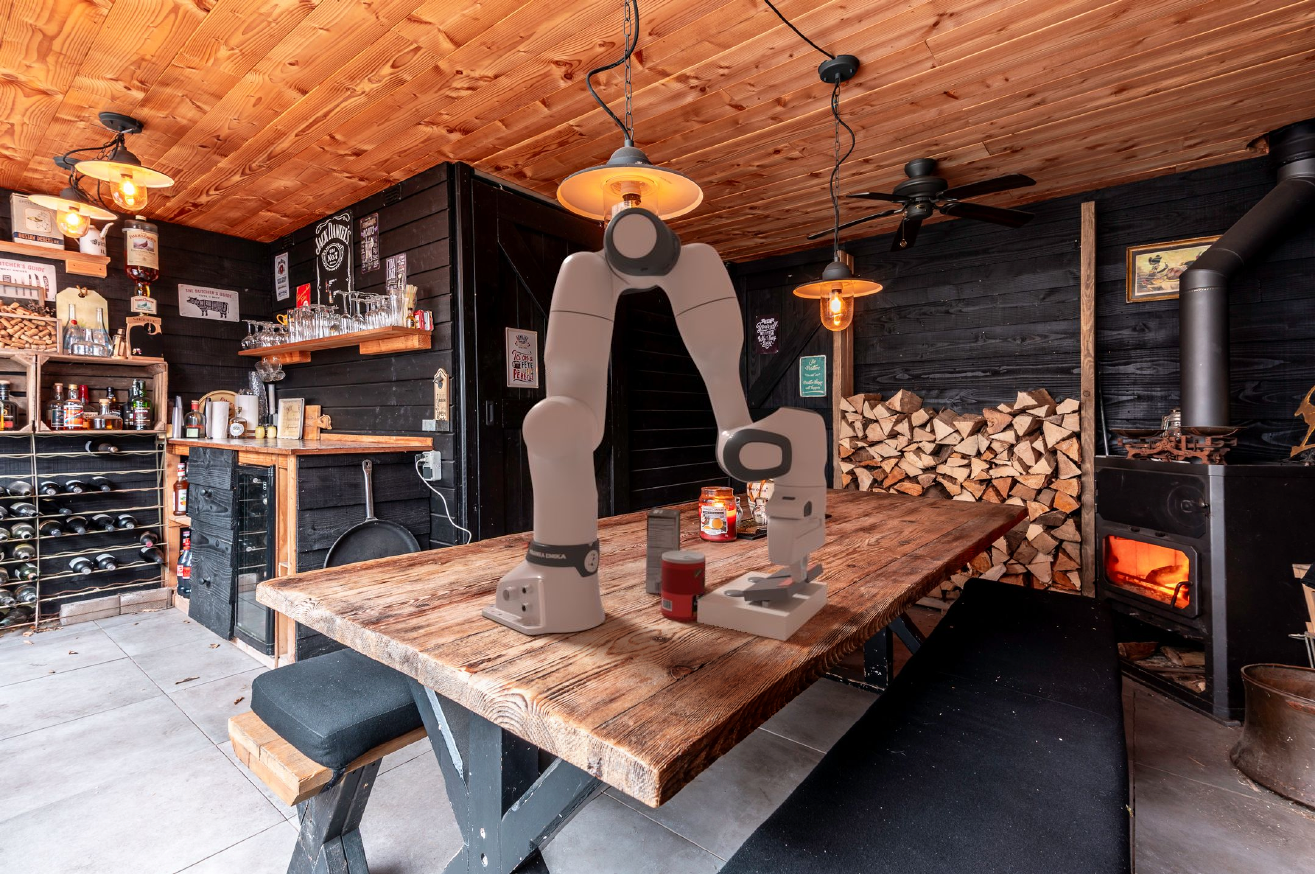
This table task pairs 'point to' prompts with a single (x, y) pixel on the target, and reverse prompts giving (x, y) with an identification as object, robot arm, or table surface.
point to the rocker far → (812, 573)
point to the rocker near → (773, 589)
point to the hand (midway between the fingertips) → (798, 580)
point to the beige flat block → (760, 608)
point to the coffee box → (660, 543)
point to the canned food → (682, 584)
